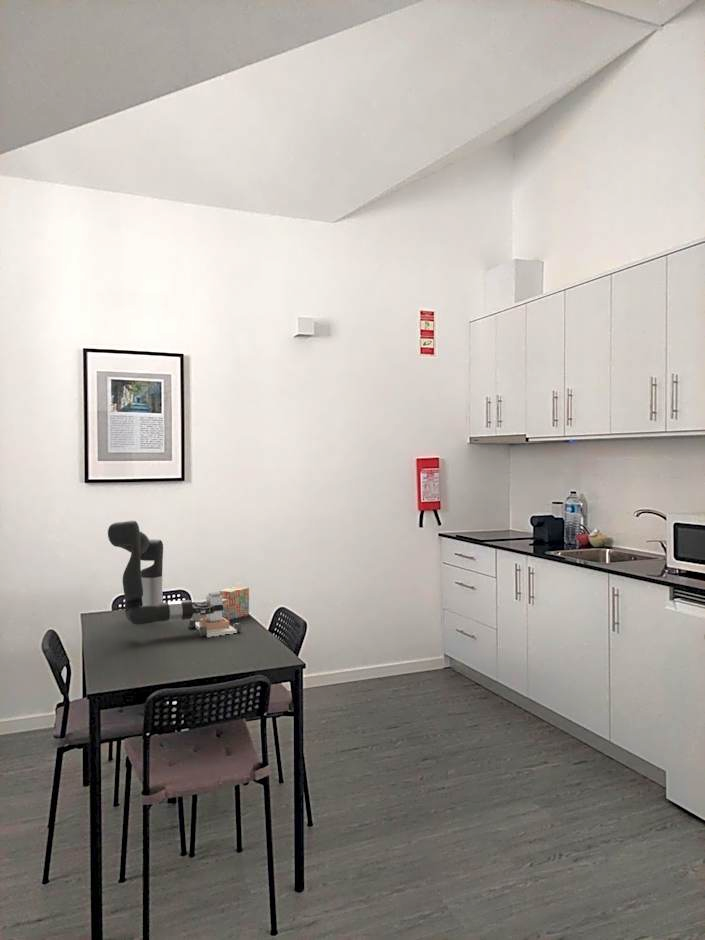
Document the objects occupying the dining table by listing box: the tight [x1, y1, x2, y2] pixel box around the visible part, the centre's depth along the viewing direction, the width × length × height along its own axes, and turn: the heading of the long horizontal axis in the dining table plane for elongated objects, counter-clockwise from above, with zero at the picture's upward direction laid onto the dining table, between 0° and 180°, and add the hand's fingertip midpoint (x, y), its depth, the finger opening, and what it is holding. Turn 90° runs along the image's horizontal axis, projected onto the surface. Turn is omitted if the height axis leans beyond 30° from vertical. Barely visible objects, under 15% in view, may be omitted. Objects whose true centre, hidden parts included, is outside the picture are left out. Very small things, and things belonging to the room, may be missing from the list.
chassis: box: [187, 615, 242, 638], centre depth 300 cm, size 20×16×4 cm
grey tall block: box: [205, 591, 222, 623], centre depth 300 cm, size 5×5×12 cm
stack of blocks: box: [204, 586, 250, 621], centre depth 320 cm, size 21×6×12 cm, turn 147°
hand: (220, 606), depth 301 cm, fingers closed on grey tall block, 5 cm apart
